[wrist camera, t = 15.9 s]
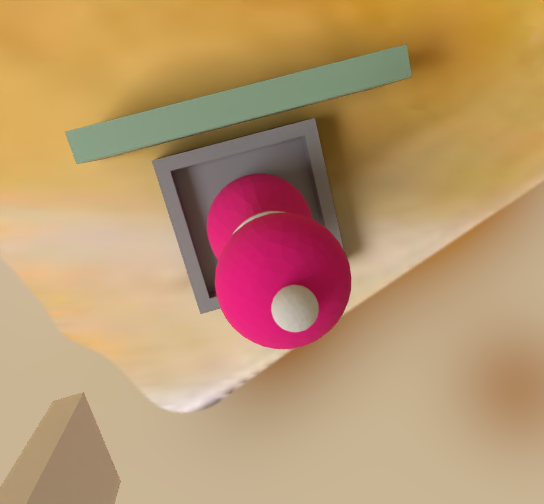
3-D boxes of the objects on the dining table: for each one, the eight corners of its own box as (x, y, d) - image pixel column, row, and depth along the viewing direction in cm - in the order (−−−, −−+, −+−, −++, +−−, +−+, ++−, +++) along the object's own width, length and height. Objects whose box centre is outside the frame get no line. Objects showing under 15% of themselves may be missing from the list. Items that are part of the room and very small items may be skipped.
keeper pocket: (308, 119, 35) (314, 117, 33) (339, 263, 38) (348, 271, 36) (156, 159, 35) (151, 160, 32) (201, 302, 38) (200, 314, 35)
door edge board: (374, 59, 35) (406, 44, 29) (379, 86, 35) (411, 76, 30) (90, 133, 34) (64, 131, 28) (99, 159, 34) (76, 164, 28)
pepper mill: (234, 151, 34) (256, 180, 15) (317, 195, 36) (433, 273, 16) (192, 235, 35) (161, 362, 16) (274, 274, 37) (334, 432, 18)
